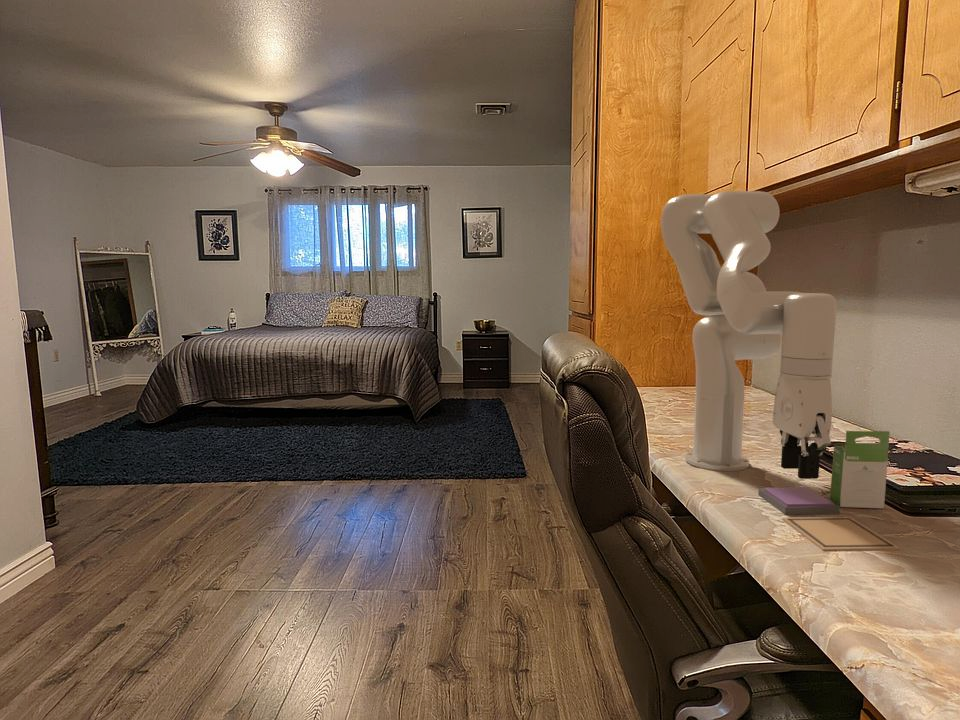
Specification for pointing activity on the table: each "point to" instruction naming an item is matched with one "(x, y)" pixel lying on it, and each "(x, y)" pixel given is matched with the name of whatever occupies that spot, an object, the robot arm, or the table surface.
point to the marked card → (839, 534)
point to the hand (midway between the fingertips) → (799, 472)
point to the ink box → (860, 471)
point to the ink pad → (798, 501)
